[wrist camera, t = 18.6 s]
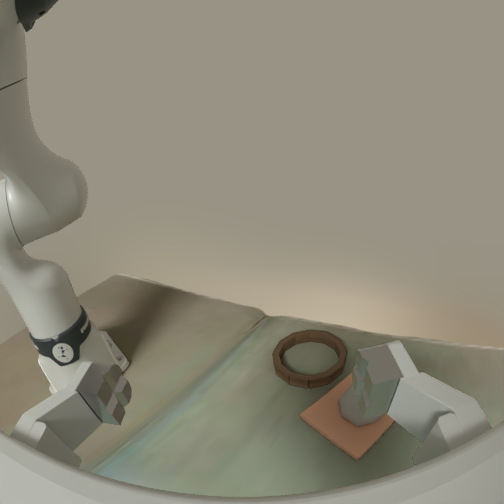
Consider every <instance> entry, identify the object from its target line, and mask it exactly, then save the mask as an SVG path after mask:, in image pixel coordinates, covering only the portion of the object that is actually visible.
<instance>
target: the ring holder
mask: <svg viewBox="0 0 504 504" xmlns="http://www.w3.org/2000/svg"><path fill="white" fill-rule="evenodd" d="M309 341H311V342H318V343H324V344H326V345H328V346H329V347H331V348H333V349H334V350H335V351H336V353H337V355H338V357H339V359H338V363H337V364H335V365H334V366H333V367H332V368H330V369H329V370H328V371H327V372H324V373H319V374H315V375H310V376H308V375H302V374H297V373H292V372H291V371H290V370H288V369H287V368H286V367H284V366H283V365H282V364H281V361H280V359H281V357H282V355H283V353H284V352H285V351H286V350H287V349H289V348H291V347H292V346H294V345H295V344H299V343H304V342H309ZM346 353H347V352H346V349H345V347H344V345H343V343H342V341H341V340H340V339H339V338H337V337H335V336H334V335H332V334H330V333H328V332H327V333H326V332H324V331H317V330H305V331H300V332H295V333H292V334H290V335H289V336H287V337H285V338H284V339H282V340H280V342H278V344H277V346H276V348H275V350H274V351H273V362H274V367H275V371H276V374H277V375H278V376H279V377H280V378H281V379H282V380H284V381H285V382H286V383H287V384H290V385H292V386H297V387H302V388H314V387H319V386H323V385H327V384H328V383H329V384H330V383H331V382H332V381H333V380H334V379H336V378H337V377H338V376H339V375H340V374H342V372H343V368H344V364H345V361H346Z"/></svg>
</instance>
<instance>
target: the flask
mask: <svg viewBox="0 0 504 504" xmlns="http://www.w3.org/2000/svg"><path fill="white" fill-rule="evenodd" d="M359 399H360V396H359V395H357V394H356V393H355V391H354V387H353V384H352V385H351V386H350V387H349V389H348V390H347V391H346V392H345V393H344V394H343V395H342V396H341V397H340V399H339V400H338V403H339V407H340V411H341V415H342V417H344V418H345V419H347V420H348V421H350V422H351V423H353V424H354V425H356V426H361V425H365V424H370V423H374V422H377V421H378V420H379V419H380V418H381V417H382V416H383V415H384V414H381V415H377V416H372V417H368V418H363V416H362V413H361V410H360V407H359V404H358V403H359Z"/></svg>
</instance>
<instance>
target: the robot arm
mask: <svg viewBox="0 0 504 504" xmlns="http://www.w3.org/2000/svg"><path fill="white" fill-rule="evenodd" d="M57 1H58V0H0V173H1V174H2V175H4V176H5V177H6V178H4V179H2V180H0V284H1V285H2V286H3V288H4V289H5V290H6V291H7V293H8V294H9V295H10V297H11V299H12V300H13V302H14V304H15V306H16V307H17V309H18V311H19V313H20V315H21V316H22V318H23V320H24V322H25V324H26V326H27V328H28V329H29V331H30V337H31V339H32V342H33V344H34V346H35V347H36V348H37V350H38V352H39V353H40V354H39V359H38V362H39V364H40V366H41V368H42V370H43V371H44V373H45V375H46V376H47V378H48V380H49V381H50V387H49V390H50V392H51V394H52V396H50V397H48V398H47V399H45V400H44V401H42V402H41V403H39V404H37V405H36V406H34V407H33V408H31V409H30V410H28V411H26V412H25V413H23V415H22V416H21V418H20V420H19V421H18V423H17V425H16V427H15V428H14V430H13V432H12V434H11V435H10V436H9V435H8V434H6V433H4V432H3V431H1V430H0V504H504V421H503V422H501V423H499V424H498V425H496V426H495V427H493V428H492V427H491V425H490V424H489V422H488V420H487V418H486V416H485V414H484V413H483V411H482V409H481V407H480V406H479V404H478V402H477V401H476V399H474V398H472V397H470V396H468V395H466V394H464V393H462V392H460V391H458V390H456V389H454V388H452V387H450V386H449V385H447V384H445V383H443V382H441V381H439V380H437V379H435V378H433V377H431V376H430V375H428V374H426V373H424V372H421V373H419V372H418V370H417V368H416V367H415V365H414V363H413V361H412V360H411V358H410V356H409V355H408V353H407V351H406V350H405V348H404V346H403V345H402V343H401V342H400V341H399V340H397V341H393V342H389V343H385V344H381V345H376V346H371V347H367V348H362V349H357V350H356V352H355V357H354V359H355V362H356V365H355V366H354V367H353V370H352V382H353V387H354V391H355V393H356V394H357V395H359V396H360V399H359V403H358V404H359V407H360V410H361V413H362V416H363V418H368V417H372V416H377V415H381V414H385V413H387V415H389V416H390V417H391V418H392V419H393V420H395V421H396V422H397V423H398V424H400V425H401V426H402V427H403V428H404V429H406V430H407V431H408V432H409V433H411V434H412V435H413V436H414V437H416V438H417V439H418V440H419V441H421V442H422V444H421V445H420V446H419V448H418V449H417V451H416V452H415V453H414V455H413V456H412V459H413V462H414V465H415V466H414V467H411V468H408V469H405V470H403V471H400V472H397V473H394V474H390V475H387V476H384V477H381V478H377V479H374V480H370V481H366V482H362V483H358V484H354V485H349V486H345V487H340V488H335V489H329V490H323V491H317V492H310V493H302V494H293V495H281V496H264V497H223V496H206V495H195V494H186V493H178V492H171V491H165V490H159V489H153V488H148V487H143V486H139V485H134V484H130V483H126V482H122V481H118V480H114V479H111V478H107V477H104V476H101V475H98V474H95V473H92V472H89V471H86V470H83V469H80V468H79V466H80V463H81V459H80V457H79V456H78V455H76V454H75V453H74V452H73V451H74V450H75V449H76V448H77V447H78V446H79V445H80V444H81V443H82V442H83V441H84V440H85V439H86V438H87V437H89V436H90V435H91V434H92V433H93V432H94V431H95V430H96V429H97V428H98V427H99V426H100V425H101V424H102V423H108V424H114V425H121V422H122V420H123V417H124V415H125V409H124V407H125V406H126V405H127V404H128V403H129V402H130V399H131V386H130V384H129V382H128V380H127V379H126V378H124V377H123V376H122V372H123V371H124V370H125V369H126V368H127V367H128V366H129V362H128V360H127V359H126V357H125V356H124V355H123V354H122V352H121V351H120V350H119V348H118V347H117V346H116V344H115V343H114V342H113V340H112V339H111V338H110V336H109V335H108V334H107V332H106V331H98V329H97V328H96V326H95V325H94V323H93V322H92V321H91V320H89V318H88V315H87V313H86V311H85V310H84V309H83V307H82V306H81V305H79V302H78V300H77V297H76V295H75V293H74V290H73V288H72V285H71V283H70V280H69V277H68V274H67V273H66V271H65V270H64V269H63V268H62V267H61V266H60V265H58V264H57V263H55V262H52V261H47V260H38V259H34V258H32V257H31V256H29V255H28V254H27V253H26V252H25V250H24V249H23V246H24V245H25V244H27V243H30V242H33V241H35V240H37V239H40V238H42V237H45V236H47V235H50V234H52V233H55V232H57V231H59V230H61V229H63V228H64V227H66V226H67V225H69V224H71V223H72V222H74V221H75V220H77V219H78V218H80V217H81V216H82V214H83V212H84V210H85V207H86V204H87V198H88V188H87V183H86V179H85V177H84V175H83V173H82V171H81V170H80V169H79V167H78V166H77V165H76V164H74V163H73V162H71V161H70V160H67V159H64V158H62V157H60V156H58V155H56V154H54V153H53V152H51V151H50V150H49V149H48V148H47V147H46V146H45V145H44V144H43V143H42V141H41V140H40V139H39V137H38V135H37V133H36V131H35V129H34V126H33V123H32V118H31V113H30V107H29V100H28V89H27V77H26V76H27V61H26V46H25V34H24V29H25V31H26V32H27V31H29V30H30V29H32V27H33V25H34V23H35V20H37V19H38V18H40V17H41V16H43V15H44V14H46V13H47V12H48V11H49V10H50V8H51V7H52V6H53V5H54V4H55V3H56V2H57Z"/></svg>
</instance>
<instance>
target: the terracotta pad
mask: <svg viewBox="0 0 504 504" xmlns="http://www.w3.org/2000/svg"><path fill="white" fill-rule="evenodd" d="M352 384H353V382H352V372H351V373H350V374H349V375H348V376H347V377H346V378H345V379H343V380H342V381H341V382H340V383H339V384H338V385H336V386H335V387H334V388H333V389H332V390H330V391H329V392H328V393H327V394H325V395H324V396H323V397H322V398H320V399H319V400H318V401H317V402H315V403H314V404H313V405H311V406H310V407H309V408H307V409H306V410H305V411H303V412H302V413H301V414H300V417H301V418H302V419H303V420H304V421H306V422H307V423H308V424H309V425H311V426H312V427H313V428H314V429H316V430H317V431H318V432H319V433H321V434H322V435H323V436H325V437H326V438H327V439H328V440H330V441H331V442H332V443H334V444H335V445H336V446H338V447H339V448H340V449H342V450H343V451H344V452H346V453H347V454H349V455H350V456H351V457H353V458H354V459H356V460H359V459H360V458H361V457H362V456H363V455H364V454H365V453H366V452H367V451H368V450H369V449H370V448H371V447H372V446H373V444H374V443H375V442H376V441H377V440H378V439H379V438H380V437H381V436H382V435H383V434H384V433H385V432H386V430H387V429H388V428H389V427H390V426H391V425H392V424H393V422H394V421H395V420H393V419H392V418H391V417H390V416H389V415H387V413H385V414H384V415H383V416H382V417H381V418H380V419H379V420H378V421H377V422H374V423H370V424H365V425H361V426H356V425H354V424H353V423H351V422H350V421H348V420H347V419H345V418H344V417H342V415H341V411H340V407H339V403H338V400H339V399H340V397H341V396H342V395H343V394H344V393H345V392H346V391H347V390H348V389H349V387H350V386H351V385H352Z"/></svg>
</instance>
